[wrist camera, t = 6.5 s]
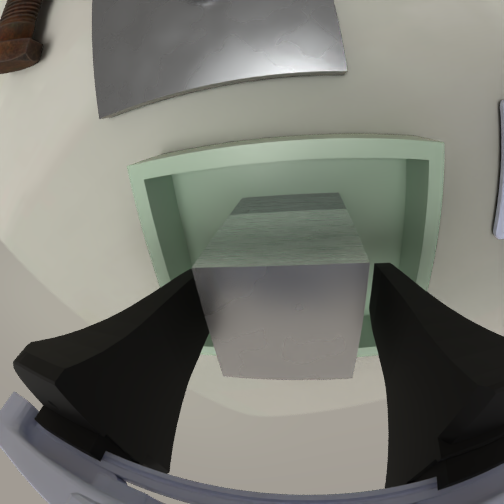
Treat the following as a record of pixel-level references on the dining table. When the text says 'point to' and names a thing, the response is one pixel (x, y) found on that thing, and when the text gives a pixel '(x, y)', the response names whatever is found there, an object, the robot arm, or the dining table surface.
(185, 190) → the parts tray
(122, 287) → the dining table surface
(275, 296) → the grey metal block
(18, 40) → the bolt
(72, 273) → the dining table surface
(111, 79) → the stud plate
